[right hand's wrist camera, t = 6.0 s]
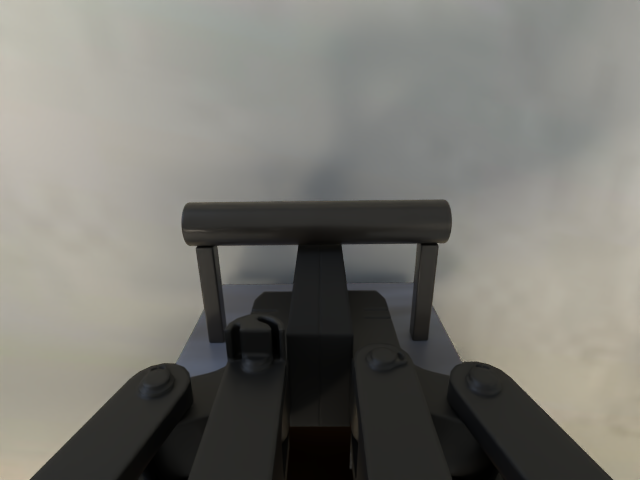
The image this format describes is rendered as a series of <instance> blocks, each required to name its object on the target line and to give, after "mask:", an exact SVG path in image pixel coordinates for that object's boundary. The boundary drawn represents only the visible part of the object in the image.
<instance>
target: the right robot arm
mask: <svg viewBox="0 0 640 480" xmlns="http://www.w3.org/2000/svg"><path fill="white" fill-rule="evenodd" d="M224 333H225V342H226V351H227V360H228V361H227V364H226V366H225V367H223V368H221V369H218V370H216V371H213V372H210V373H206V374H202V375H197V376H193V377H190V373H189V372H188V371H187V369H186V368H185V367H183V366H181V365H178V364H172V363H163V364H159V365H154V366H151V367H148V368H146V369H144V370H142V371H140V372H138V373H137V374H136V375H134V376H133V377H132V378H131V379H129V380H128V381H127V382H126V383H125V384H124V385H123V386H122V387H121V388H120V389H119V390H118V391H117V392H116V393H115V394H114V395H113V396H112V397H111V398H110V399H109V400H108V401H107V402H106V403H105V404H104V405H103V407H102V408H101V409H100V410H99V411H98V412H97V413H96V414H95V415H94V416H93V417H92V418H91V419H90V420H89V421H88V422H87V423H86V424H85V425H84V426H83V427H82V428H81V429H80V430H79V431H78V432H77V433H76V434H75V435H74V436H73V437H72V438H71V439H70V440H69V441H68V442H67V443H66V444H65V445H64V446H63V447H62V448H61V449H60V450H59V451H58V452H57V453H56V454H55V455H54V456H53V457H52V458H51V459H50V460H49V461H48V462H47V463H46V464H45V465H44V466H43V467H42V468H41V469H40V470H39V471H38V472H37V473H36V474H35V475H34V476H33V477H32V478H31V479H30V480H287V470H288V458H289V422H290V427H350V421H351V447H350V469H353V480H613V479H612V478H611V477H610V476H609V475H608V474H607V473H606V472H605V471H604V470H603V469H602V468H601V467H600V466H599V465H598V464H597V463H596V462H595V461H594V460H593V459H592V458H591V457H590V456H589V455H588V454H587V453H586V452H585V451H584V450H583V449H582V448H581V447H580V446H579V445H578V444H577V443H576V442H575V441H574V440H573V439H572V438H571V437H570V436H569V435H568V434H567V433H566V432H565V431H564V430H563V429H562V428H561V427H560V426H559V425H558V424H557V423H556V422H555V421H554V420H553V419H552V418H551V417H550V416H549V415H548V414H547V413H546V412H545V411H544V410H543V409H542V408H541V407H540V406H539V405H538V404H537V403H536V402H535V401H534V400H533V399H532V398H531V397H530V396H529V395H528V394H527V393H526V392H525V391H524V390H523V389H522V388H521V387H520V386H519V385H518V384H517V383H516V382H515V381H514V380H513V379H512V378H511V377H509V376H508V375H507V374H505V373H504V372H503V371H501V370H500V369H498V368H495V367H493V366H491V365H489V364H484V363H480V362H463V363H461V364H458V365H456V366H455V367H454V368H453V369H452V370H451V373H450V376H449V375H445V374H440V373H436V372H432V371H429V370H425V369H423V368H421V367H418V366H416V365H415V364H413V361H412V359H411V357H410V356H409V354H408V353H407V352H405V351H404V350H403V349H401V347H400V344H399V341H398V338H397V335H396V331H395V328H394V325H393V322H392V319H391V315H390V312H389V311H388V306H387V302H386V299H385V298H384V297H383V296H382V295H381V294H380V293H379V292H377V291H376V290H347V283H346V275H345V268H344V261H343V253H342V246H341V244H331V245H298V253H297V260H296V267H295V275H294V282H293V289H292V291H264V292H263V293H262V294H261V295H259V296H258V297H257V298H256V299H255V300H254V304H253V307H252V312H251V313H250V314H249V315H245V316H242V317H239V318H237V319H235V320H234V321H232V322H231V323H229V324H228V326H227V327H226V328H225V330H224Z"/></svg>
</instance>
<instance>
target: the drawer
mask: <svg viewBox="0 0 640 480" xmlns="http://www.w3.org/2000/svg"><path fill="white" fill-rule="evenodd" d="M451 227H452V216H451V209H450V206H449V203H448V202H447V201H446V200H366V201H277V202H189V203H187V204H186V205H185V207H184V209H183V213H182V233H183V237H184V240H185V242H186V244H187V245H189V246H197V247H196V253H197V261H198V268H199V275H200V282H201V289H202V296H203V303H204V311H203V313H202V314H201V316H200V318H199V320H198V322H197V324H196V326H195V328H194V330H193V332H192V334H191V335H190V337H189V339H188V341H187V343H186V345H185V347H184V349H183V351H182V353H181V355H180V357H179V358H178V360H177V362H176V364H178V365H181V366H183V367H185V368H186V369H187V371H188V372H189V373H190V377H193V376H197V375H202V374H206V373H210V372H213V371H216V370H218V369H221V368H223V367H225V366H226V364H227V361H228V360H227V351H226V342H225V333H224V330H225V328H226V327H227V326H228V324H229V323H231V322H232V321H234V320H235V319H237V318H239V317H242V316H245V315H249V314H250V313H251V312H252V307H253V304H254V300H255V299H256V298H257V297H258V296H259V295H261V294H262V293H263V292H264V291H292V289H293V284H232V285H222V282H221V274H220V265H219V257H218V248H217V246H239V245H331V244H417V252H416V263H415V274H414V283H347V290H376V291H377V292H379V293H380V294H381V295H382V296H383V297H384V298H385V299H386V302H387V306H388V311H389V312H390V315H391V319H392V322H393V325H394V328H395V331H396V335H397V338H398V341H399V344H400V347H401V349H403V350H404V351H405V352H407V353H408V354H409V356H410V357H411V359H412V361H413V364H415V365H416V366H418V367H421V368H423V369H425V370H429V371H432V372H436V373H440V374H445V375H449V376H450V373H451V370H452V369H453V368H454V367H455V366H456V365H458V364H461V363H462V361H461V359H460V357H459V355H458V353H457V352H456V350H455V348H454V346H453V344H452V342H451V340H450V338H449V336H448V334H447V332H446V330H445V329H444V327H443V325H442V323H441V321H440V319H439V317H438V315H437V313H436V311H435V309H434V307H433V306H432V300H433V292H434V283H435V274H436V265H437V256H438V247H439V246H438V244H437V243H446V242H447V241H448V239H449V237H450V233H451ZM350 447H351V421H350V427H290V422H289V458H288V470H287V480H353V469H350Z"/></svg>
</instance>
